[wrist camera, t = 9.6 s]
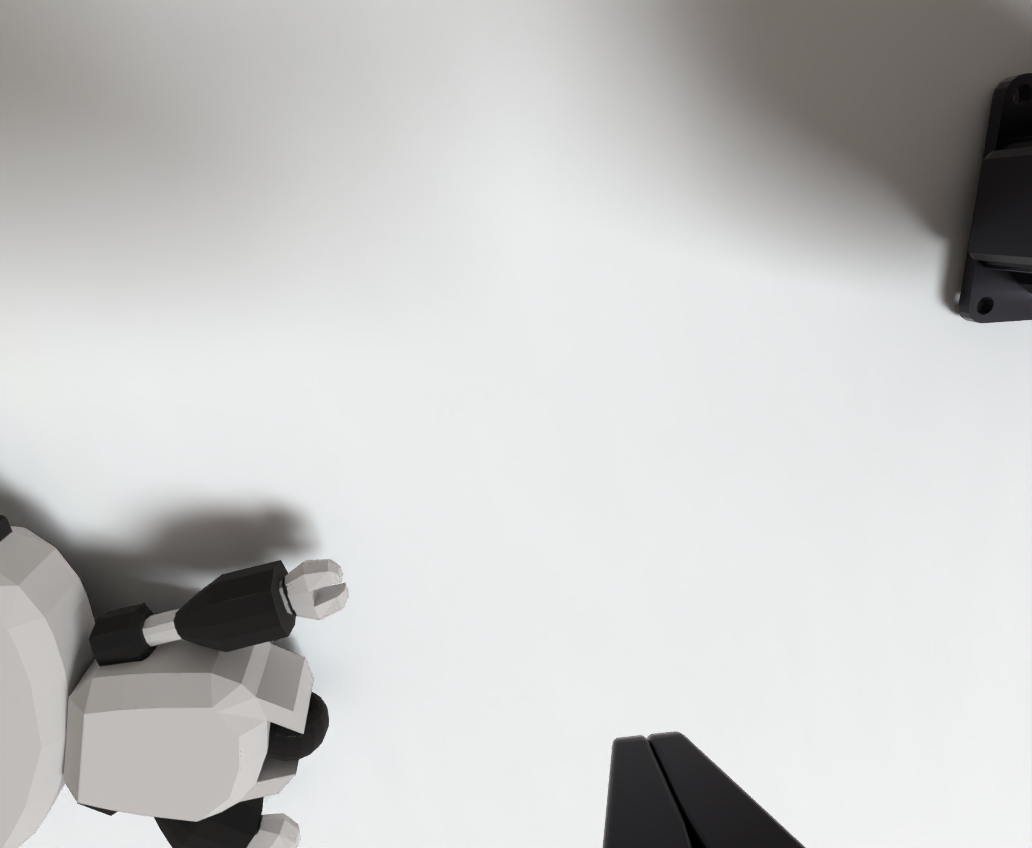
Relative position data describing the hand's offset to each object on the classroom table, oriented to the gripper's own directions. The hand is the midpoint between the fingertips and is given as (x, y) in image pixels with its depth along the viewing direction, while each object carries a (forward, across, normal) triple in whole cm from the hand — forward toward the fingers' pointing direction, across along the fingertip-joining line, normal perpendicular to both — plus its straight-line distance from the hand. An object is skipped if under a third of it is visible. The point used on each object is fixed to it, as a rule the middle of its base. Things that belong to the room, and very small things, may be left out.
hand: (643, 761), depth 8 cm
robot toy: (+12, +14, +6) cm, 20 cm away
